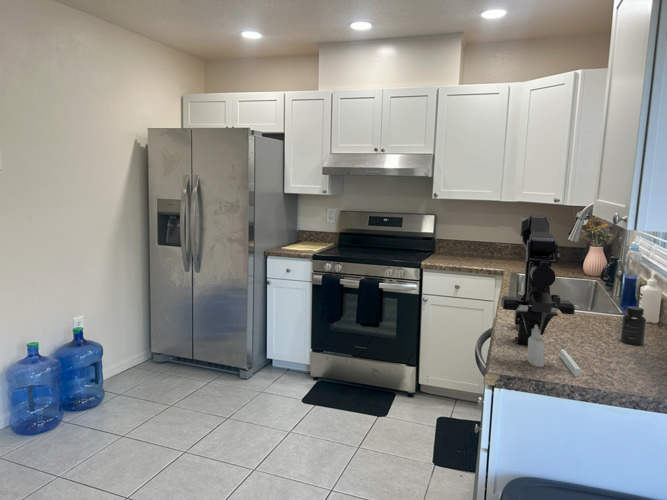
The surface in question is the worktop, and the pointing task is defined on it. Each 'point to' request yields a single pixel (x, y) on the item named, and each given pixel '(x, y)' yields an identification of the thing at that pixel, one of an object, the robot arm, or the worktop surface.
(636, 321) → the supplement bottle
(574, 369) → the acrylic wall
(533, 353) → the eye dropper bottle
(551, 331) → the worktop surface
